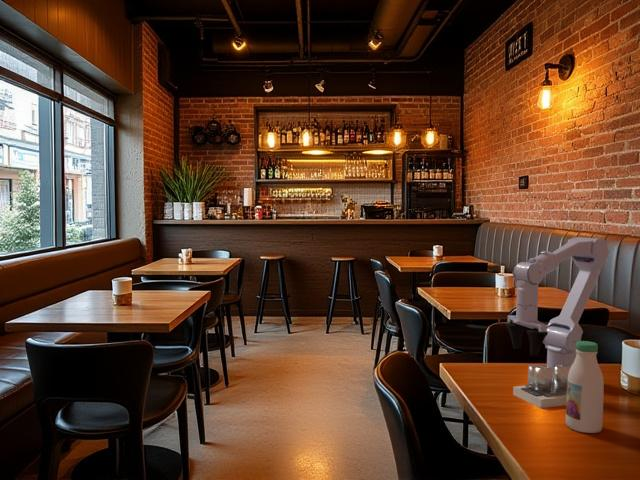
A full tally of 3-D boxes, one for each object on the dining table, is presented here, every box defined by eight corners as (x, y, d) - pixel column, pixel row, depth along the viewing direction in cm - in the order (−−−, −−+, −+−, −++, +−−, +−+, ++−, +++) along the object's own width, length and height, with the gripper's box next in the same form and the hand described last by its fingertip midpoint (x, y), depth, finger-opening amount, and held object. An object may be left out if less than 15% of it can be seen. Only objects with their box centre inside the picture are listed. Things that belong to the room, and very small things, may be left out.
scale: (555, 389, 159) (555, 381, 159) (584, 402, 149) (585, 393, 149) (513, 394, 155) (513, 385, 155) (540, 408, 145) (540, 398, 144)
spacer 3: (562, 383, 156) (562, 363, 156) (574, 388, 152) (574, 367, 151) (549, 384, 155) (549, 364, 154) (560, 389, 150) (561, 369, 150)
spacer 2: (530, 386, 153) (531, 365, 152) (544, 385, 154) (545, 365, 154) (540, 391, 149) (541, 370, 148) (554, 390, 150) (555, 370, 149)
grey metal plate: (558, 383, 158) (558, 381, 158) (579, 392, 150) (579, 390, 150) (525, 386, 154) (525, 384, 154) (545, 396, 147) (545, 394, 147)
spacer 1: (537, 382, 166) (537, 364, 166) (547, 387, 162) (548, 368, 162) (524, 383, 165) (524, 365, 164) (534, 388, 161) (535, 369, 160)
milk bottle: (599, 423, 134) (602, 340, 133) (604, 436, 127) (607, 348, 126) (564, 419, 137) (567, 337, 136) (567, 431, 130) (570, 345, 129)
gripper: (499, 301, 167) (498, 346, 168) (532, 309, 153) (530, 359, 154) (519, 300, 169) (518, 345, 170) (553, 308, 155) (552, 357, 156)
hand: (525, 351), depth 162 cm, fingers open, 7 cm apart
